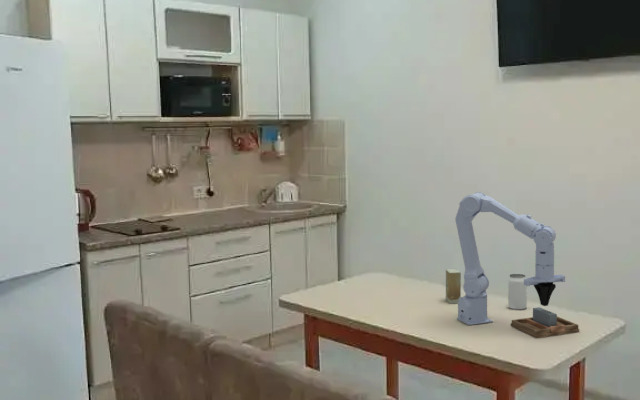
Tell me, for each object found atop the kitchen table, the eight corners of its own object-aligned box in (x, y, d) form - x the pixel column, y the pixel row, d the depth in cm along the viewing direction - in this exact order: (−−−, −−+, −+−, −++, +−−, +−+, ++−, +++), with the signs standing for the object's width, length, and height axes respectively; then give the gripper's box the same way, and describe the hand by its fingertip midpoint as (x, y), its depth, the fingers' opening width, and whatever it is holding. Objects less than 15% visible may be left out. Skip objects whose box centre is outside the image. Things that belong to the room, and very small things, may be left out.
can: (527, 310, 237) (527, 277, 236) (509, 309, 238) (509, 277, 237) (525, 305, 243) (525, 273, 242) (507, 305, 244) (507, 273, 243)
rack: (536, 338, 206) (536, 329, 205) (510, 326, 219) (510, 317, 219) (579, 331, 211) (579, 323, 210) (551, 320, 224) (551, 312, 224)
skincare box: (445, 299, 255) (444, 268, 253) (456, 299, 255) (456, 268, 254) (449, 304, 248) (449, 272, 247) (461, 303, 249) (460, 271, 247)
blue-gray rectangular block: (550, 330, 210) (550, 315, 210) (532, 322, 219) (532, 308, 218) (556, 329, 211) (556, 314, 210) (539, 321, 219) (539, 307, 219)
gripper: (533, 268, 206) (532, 310, 208) (571, 264, 211) (571, 305, 212) (519, 264, 213) (519, 305, 215) (557, 260, 218) (556, 300, 219)
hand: (544, 305), depth 214 cm, fingers closed
